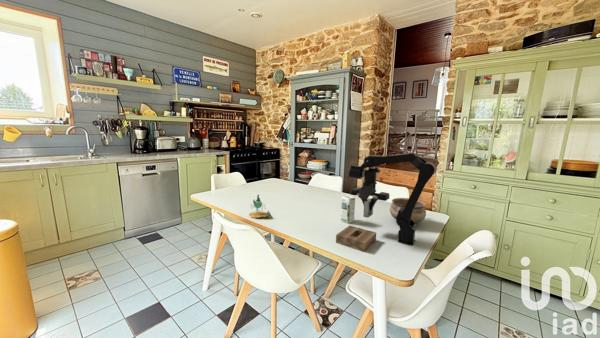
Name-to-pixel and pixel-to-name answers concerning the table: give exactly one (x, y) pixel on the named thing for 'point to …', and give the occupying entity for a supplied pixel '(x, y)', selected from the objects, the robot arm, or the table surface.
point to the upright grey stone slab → (367, 208)
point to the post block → (356, 238)
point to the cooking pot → (397, 203)
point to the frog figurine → (258, 214)
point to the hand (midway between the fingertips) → (368, 210)
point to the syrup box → (347, 209)
